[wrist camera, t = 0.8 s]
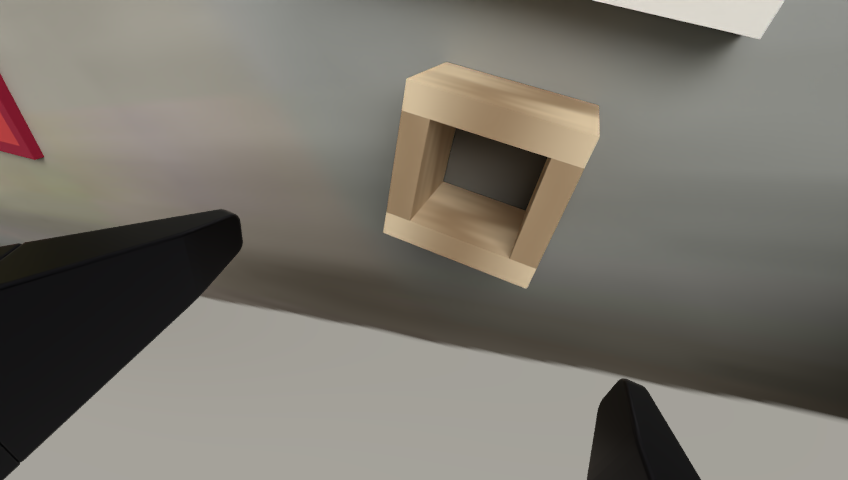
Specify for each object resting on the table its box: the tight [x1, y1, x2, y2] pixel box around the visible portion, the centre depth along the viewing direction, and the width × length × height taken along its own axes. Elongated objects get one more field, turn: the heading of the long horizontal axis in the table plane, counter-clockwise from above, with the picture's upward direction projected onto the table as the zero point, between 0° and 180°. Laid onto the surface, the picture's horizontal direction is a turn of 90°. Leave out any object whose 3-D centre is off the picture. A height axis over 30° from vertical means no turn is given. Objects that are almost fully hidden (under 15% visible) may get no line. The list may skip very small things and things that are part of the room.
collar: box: [383, 62, 600, 289], centre depth 15 cm, size 6×6×4 cm
